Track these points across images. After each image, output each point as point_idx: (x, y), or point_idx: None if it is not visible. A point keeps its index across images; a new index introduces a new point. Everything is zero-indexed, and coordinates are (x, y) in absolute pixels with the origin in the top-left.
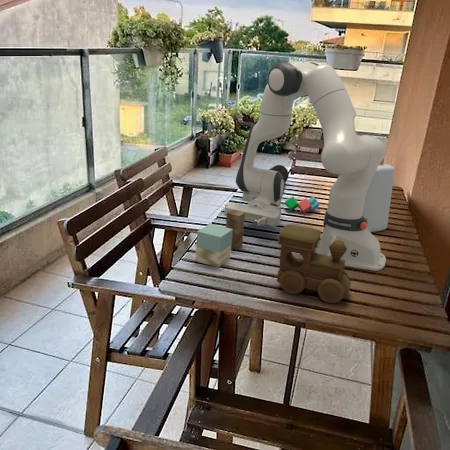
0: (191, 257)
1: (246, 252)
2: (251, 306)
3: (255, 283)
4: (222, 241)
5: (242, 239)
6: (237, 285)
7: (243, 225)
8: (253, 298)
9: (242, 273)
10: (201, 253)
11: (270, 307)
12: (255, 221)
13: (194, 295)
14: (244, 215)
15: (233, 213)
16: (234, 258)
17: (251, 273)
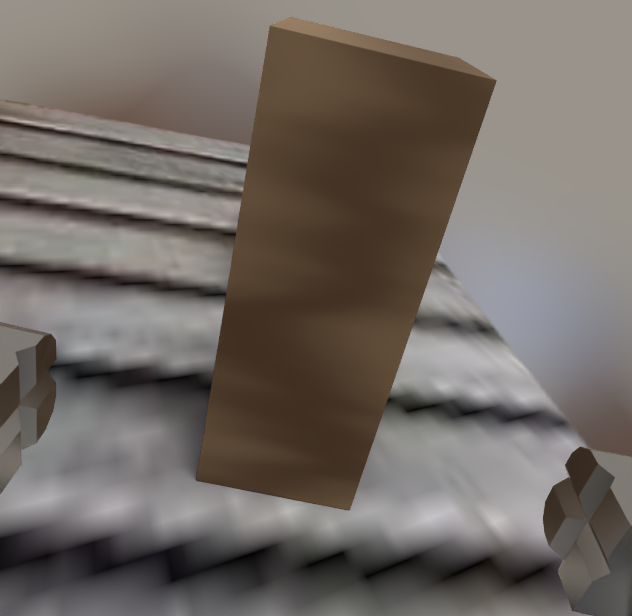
0: (439, 284)
1: (128, 369)
2: (76, 115)
3: (56, 165)
4: None
5: (208, 411)
6: (139, 163)
7: (237, 238)
8: (68, 128)
9: (127, 205)
10: None
11: (7, 107)
12: (38, 335)
13: None
14: (261, 81)
15: (389, 42)
16: (207, 294)
17: (76, 204)
